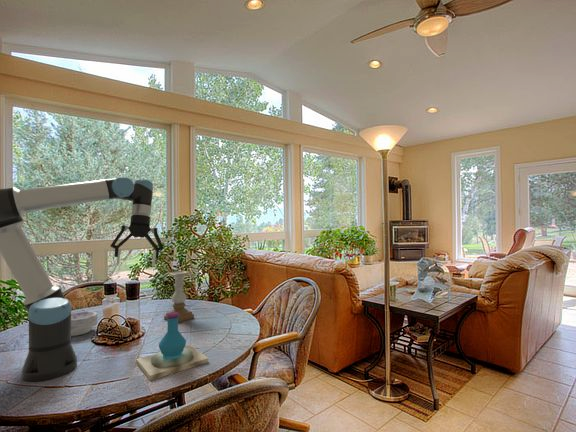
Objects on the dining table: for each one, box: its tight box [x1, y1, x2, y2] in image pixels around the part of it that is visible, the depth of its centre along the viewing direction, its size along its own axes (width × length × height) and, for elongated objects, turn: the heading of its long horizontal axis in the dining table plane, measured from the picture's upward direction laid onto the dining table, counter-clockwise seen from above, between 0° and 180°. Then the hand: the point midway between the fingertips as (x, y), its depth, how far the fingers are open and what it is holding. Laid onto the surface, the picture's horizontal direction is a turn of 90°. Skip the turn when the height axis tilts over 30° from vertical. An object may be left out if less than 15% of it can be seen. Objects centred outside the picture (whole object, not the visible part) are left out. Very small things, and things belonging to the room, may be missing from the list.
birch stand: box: [135, 344, 209, 381], centre depth 115 cm, size 20×16×2 cm
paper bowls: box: [71, 310, 98, 337], centre depth 146 cm, size 15×15×8 cm
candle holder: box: [163, 270, 195, 324], centre depth 166 cm, size 11×11×24 cm
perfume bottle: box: [158, 312, 187, 360], centre depth 115 cm, size 9×9×15 cm
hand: (135, 265), depth 133 cm, fingers open, 13 cm apart
